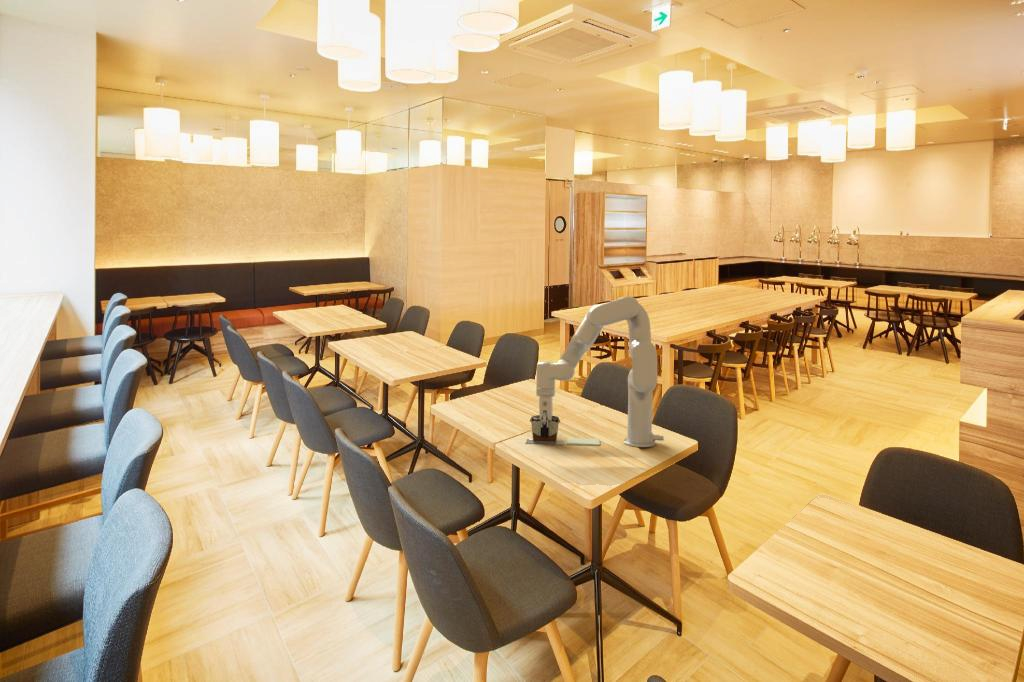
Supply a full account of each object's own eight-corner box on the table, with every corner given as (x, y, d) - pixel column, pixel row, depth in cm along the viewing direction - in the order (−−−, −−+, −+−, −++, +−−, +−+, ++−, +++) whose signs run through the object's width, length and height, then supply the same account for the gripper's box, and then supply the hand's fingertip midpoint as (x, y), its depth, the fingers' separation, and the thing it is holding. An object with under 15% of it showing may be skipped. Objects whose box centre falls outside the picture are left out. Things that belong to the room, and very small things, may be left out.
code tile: (563, 438, 230) (563, 437, 230) (563, 445, 219) (563, 444, 219) (527, 437, 232) (527, 436, 232) (525, 443, 221) (525, 443, 221)
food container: (560, 439, 228) (560, 415, 227) (560, 442, 222) (560, 418, 221) (530, 438, 229) (530, 414, 228) (529, 441, 223) (529, 417, 222)
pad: (598, 438, 230) (598, 437, 230) (599, 445, 219) (600, 444, 219) (567, 437, 231) (567, 436, 231) (567, 444, 220) (567, 443, 220)
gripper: (554, 395, 215) (553, 440, 216) (555, 388, 232) (554, 430, 233) (535, 395, 216) (534, 439, 217) (537, 388, 233) (537, 429, 234)
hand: (545, 434), depth 225 cm, fingers open, 7 cm apart
